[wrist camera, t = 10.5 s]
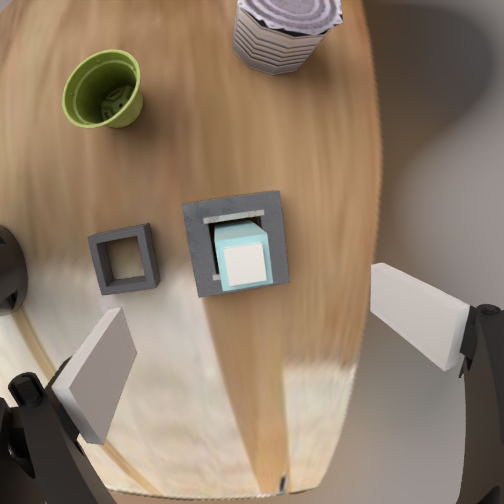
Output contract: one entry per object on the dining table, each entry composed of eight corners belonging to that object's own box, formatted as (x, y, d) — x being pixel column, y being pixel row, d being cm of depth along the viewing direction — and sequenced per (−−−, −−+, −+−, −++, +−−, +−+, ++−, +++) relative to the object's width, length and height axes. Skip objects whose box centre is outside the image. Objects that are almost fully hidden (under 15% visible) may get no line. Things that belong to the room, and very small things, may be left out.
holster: (109, 287, 35) (102, 295, 32) (96, 233, 33) (87, 237, 30) (160, 280, 36) (156, 288, 33) (149, 223, 34) (143, 225, 31)
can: (230, 74, 31) (237, 28, 20) (231, 12, 29) (238, -39, 17) (313, 79, 33) (350, 43, 21) (307, 19, 30) (336, -24, 19)
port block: (200, 286, 37) (198, 298, 32) (185, 203, 34) (181, 204, 30) (282, 273, 38) (290, 283, 34) (272, 190, 35) (279, 190, 31)
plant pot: (168, 112, 31) (155, 90, 23) (109, 154, 31) (80, 145, 23) (137, 64, 29) (119, 35, 21) (81, 104, 29) (52, 86, 21)
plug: (220, 259, 36) (223, 294, 24) (214, 225, 35) (214, 243, 23) (254, 254, 37) (274, 285, 24) (250, 219, 36) (268, 234, 23)
